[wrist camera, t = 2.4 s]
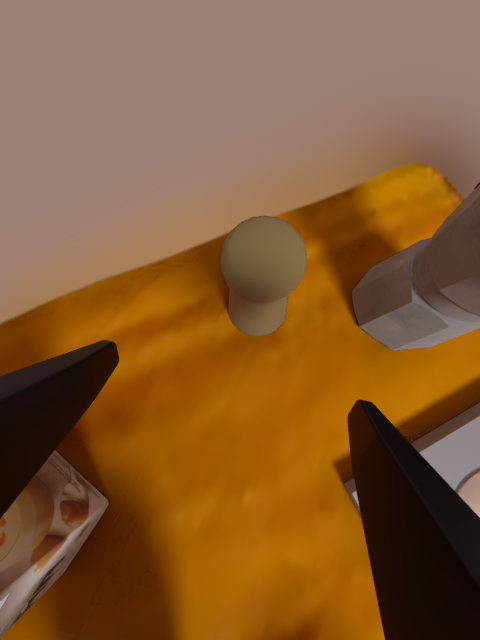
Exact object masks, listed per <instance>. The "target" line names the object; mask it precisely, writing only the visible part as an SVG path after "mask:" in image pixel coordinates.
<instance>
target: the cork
mask: <svg viewBox="0 0 480 640" xmlns="http://www.w3.org/2000/svg"><path fill="white" fill-rule="evenodd" d="M306 261H307V253H306V248H305V244H304V241H303V240H302V238H301V237H300V235H299V233H298V232H297V231H296V229H295V228H293V227H292V226H291V225H290V224H289V223H287V222H286V221H283V220H281V219H279V218H276V217H270V216H259V217H252V218H250V219H248V220H245V221H243V222H241V223H240V224H239V225H238V226H236V227H235V228H234V229H233V230H232V231H231V232H230V233H229V234H228V236H227V238H226V239H225V241H224V242H223V247H222V251H221V255H220V264H221V272H222V275H223V277H224V279H225V281H226V283H227V285H228V286H229V287H230V293H229V302H228V311H229V316H230V319H231V321H232V323H233V324H234V325H235V326H236V327H237V328H238V329H239V330H240V331H242V332H244V333H246V334H247V335H253V336H263V335H267V334H270V333H272V332H274V331H275V330H276V329H277V328H278V327H279V326H281V325H282V323H283V321H284V319H285V317H286V311H287V303H288V295H289V294H290V293H291V292H292V291H293V290H294V289H295V288H296V287H297V286H298V284H299V282H300V280H301V278H302V276H303V275H304V273H305V269H306Z"/></svg>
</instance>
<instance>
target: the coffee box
mask: <svg viewBox="0 0 480 640" xmlns="http://www.w3.org/2000/svg"><path fill="white" fill-rule="evenodd" d="M108 504H109V502H108V500H107V499H106V498H105V497H104V496H103V495H102V494H101V493H100V492H99V491H98V490H97V489H96V488H95V487H94V486H92V485H91V484H90V483H89V482H88V481H87V480H86V479H85V478H84V477H83V476H82V475H81V474H80V473H79V472H78V471H77V470H76V469H75V468H73V467H72V466H71V465H70V464H69V463H68V462H67V461H66V460H65V459H64V458H63V457H62V456H61V455H60V454H59V453H58V452H57V451H56V450H55V451H54V452H53V453H52V454H51V456H50V457H49V458H48V460H47V461H46V462H45V463H44V465H43V466H42V467H41V468H40V470H39V471H38V472H37V473H36V475H35V476H34V477H33V479H32V480H31V481H30V482H29V484H28V485H27V486H26V487H25V489H24V490H23V491H22V492H21V494H20V495H19V496H18V498H17V499H16V500H15V501H14V503H13V504H12V505H11V506H10V508H9V509H8V510H7V511H6V513H5V514H4V515H3V517H2V518H1V519H0V639H1V638H2V637H3V636H4V634H5V633H6V632H7V631H8V630H9V629H10V628H11V627H12V626H13V625H14V624H15V623H16V622H17V621H18V620H19V619H20V618H21V617H22V616H23V615H24V614H25V613H26V612H27V611H28V610H29V609H30V608H31V607H32V606H33V604H34V603H35V602H36V601H37V600H38V599H39V598H40V597H41V596H42V595H43V594H44V593H45V592H46V591H47V590H48V589H49V588H50V587H51V586H52V585H53V584H54V583H55V581H56V580H57V579H58V578H59V577H60V576H61V575H62V574H63V573H64V571H65V570H66V569H67V567H68V566H69V564H70V563H71V561H72V560H73V558H74V557H75V555H76V554H77V552H78V551H79V549H80V548H81V546H82V545H83V543H84V542H85V540H86V539H87V537H88V536H89V534H90V533H91V531H92V530H93V528H94V527H95V525H96V524H97V522H98V521H99V519H100V518H101V516H102V515H103V513H104V511H105V510H106V508H107V507H108Z"/></svg>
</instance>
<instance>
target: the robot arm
mask: <svg viewBox="0 0 480 640" xmlns="http://www.w3.org/2000/svg"><path fill="white" fill-rule="evenodd" d="M118 362H119V355H118V351H117V346H116V344H115V343H114V342H111V341H107V340H102V341H99V342H96V343H94V344H91V345H88V346H85V347H82V348H79V349H77V350H74V351H71V352H68V353H65V354H62V355H60V356H57V357H54V358H51V359H48V360H45V361H42V362H40V363H37V364H34V365H31V366H28V367H25V368H23V369H20V370H17V371H14V372H11V373H8V374H6V375H3V376H0V519H1V518H2V517H3V515H4V514H5V513H6V511H7V510H8V509H9V508H10V506H11V505H12V504H13V503H14V501H15V500H16V499H17V498H18V496H19V495H20V494H21V492H22V491H23V490H24V489H25V487H26V486H27V485H28V484H29V482H30V481H31V480H32V479H33V477H34V476H35V475H36V473H37V472H38V471H39V470H40V468H41V467H42V466H43V465H44V463H45V462H46V461H47V460H48V458H49V457H50V456H51V454H52V453H53V452H54V451H55V449H56V448H57V447H58V446H59V444H60V443H61V442H62V441H63V439H64V438H65V437H66V435H67V434H68V433H69V432H70V430H71V429H72V428H73V427H74V425H75V424H76V423H77V422H78V420H79V419H80V418H81V416H82V415H83V414H84V413H85V411H86V410H87V409H88V408H89V406H90V405H91V404H92V402H93V401H94V400H95V398H96V397H97V395H98V394H99V393H100V391H101V389H102V388H103V386H104V385H105V383H106V382H107V380H108V379H109V377H110V375H111V374H112V372H113V371H114V369H115V368H116V366H117V365H118ZM348 432H349V443H350V454H351V464H352V471H353V476H354V482H355V487H356V492H357V497H358V502H359V507H360V513H361V518H362V523H363V528H364V533H365V538H366V544H367V549H368V554H369V559H370V564H371V569H372V575H373V580H374V585H375V590H376V595H377V600H378V605H379V611H380V616H381V621H382V626H383V631H384V636H385V640H480V517H479V516H478V515H477V514H476V513H475V512H474V511H473V510H472V509H471V508H470V507H469V505H468V504H467V503H466V502H465V501H464V500H463V499H462V498H461V497H460V496H459V495H458V494H457V493H456V492H455V491H454V489H453V488H452V487H451V486H450V485H449V484H448V483H447V482H446V481H445V480H444V479H443V478H442V477H441V476H440V474H439V473H438V472H437V471H436V470H435V469H434V468H433V467H432V466H431V465H430V464H429V463H428V462H427V461H426V460H425V458H424V457H423V456H422V455H421V454H420V453H419V452H418V451H417V450H416V449H415V448H414V447H413V446H412V445H411V443H410V442H409V441H408V440H407V439H406V438H405V437H404V436H403V435H402V434H401V433H400V432H399V431H398V430H397V429H396V427H395V426H394V425H393V424H392V423H391V422H390V421H389V420H388V419H387V418H386V417H385V416H384V415H383V414H382V412H381V411H380V410H379V409H378V408H377V407H376V406H375V405H374V404H373V403H372V402H369V401H365V400H361V399H360V400H357V401H356V403H355V404H354V406H353V407H352V409H351V411H350V412H349V414H348Z"/></svg>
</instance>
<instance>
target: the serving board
mask: <svg viewBox="0 0 480 640" xmlns="http://www.w3.org/2000/svg"><path fill="white" fill-rule="evenodd" d="M411 445H412V446H413V447H414V448H415V449H416V450H417V451H418V452H419V453H420V454H421V455H422V456H423V457H424V458H425V460H426V461H427V462H428V463H429V464H430V465H431V466H432V467H433V468H434V469H435V470H436V471H437V472H438V473H439V474H440V476H441V477H442V478H443V479H444V480H445V481H446V482H447V483H448V484H449V485H450V486H451V487H452V488H453V489H454V491H455V492H456V493H457V494H458V495H459V496H460V497H461V498H462V499H463V500H464V501H465V502H466V503H467V504H468V505H469V507H470V508H471V509H472V510H473V511H474V512H475V513H476V514H477V515H478V516H479V517H480V402H479V403H478V404H476V405H474V406H473V407H471V408H469V409H468V410H466V411H464V412H463V413H461V414H459V415H458V416H456V417H454V418H453V419H451V420H449V421H448V422H446V423H444V424H443V425H441V426H439V427H438V428H436V429H434V430H433V431H431V432H429V433H428V434H426V435H424V436H423V437H421V438H419V439H418V440H416V441H414V442H413V443H411ZM344 486H345V487H346V489H347V491H348V493H349V495H350V497H351V498H352V500H353V502H354V504H355V506H356V507H357V509H358V511H359V513H360V507H359V502H358V497H357V492H356V487H355V482H354V478H353V479H351V480H349V481H348V482H346V483H345V484H344ZM360 515H361V513H360Z"/></svg>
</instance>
